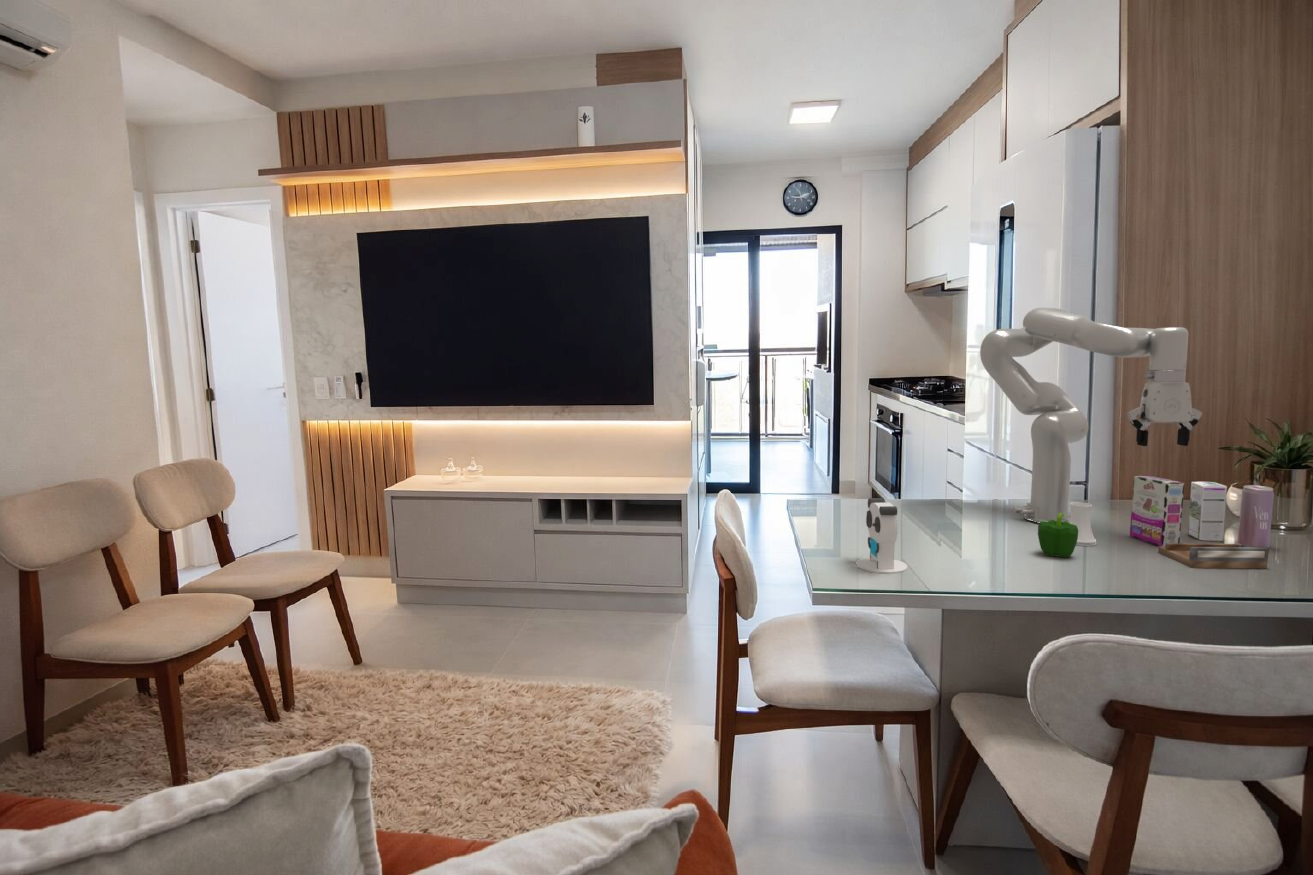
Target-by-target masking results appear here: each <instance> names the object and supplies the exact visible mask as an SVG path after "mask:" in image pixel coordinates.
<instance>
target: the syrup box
mask: <svg viewBox="0 0 1313 875" xmlns="http://www.w3.org/2000/svg"><path fill="white" fill-rule="evenodd" d="M1227 490H1228V486H1227V485H1225V484H1221V483H1217V482H1215V481H1191V485H1190V498H1189V512H1188V513H1189V514H1188V525H1187V526H1188V529H1187V535H1188V536H1191V537H1192V538H1195V539H1196V540H1199V541H1209V542H1210V541H1211V542H1223V541H1224V531H1225V520H1226V519H1225V518H1226V504H1227V503H1226V502H1227Z"/></svg>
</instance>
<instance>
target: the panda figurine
mask: <svg viewBox="0 0 1313 875" xmlns="http://www.w3.org/2000/svg"><path fill="white" fill-rule="evenodd" d="M867 507H868V508H867V509H868V510H867V511H866V517H865V518H866V520H865V523H866V527H867V529H868V534H869V537H867V545H868V548H869V557H864V558H860V559H858V560H857V561H856V562H855V563H856V564H855V565H856V566H857V567H858V569H861V570H862V571H866V572H869V573H870V572H871V573H876V574H884V575H885V574H886V575H887V574H888V575H890V574H900V573H901V574H902V573H904V572H906V571H907V570H908V567H909V566H908V565H907V563H905V562H903V561H901V560H898V559H895V544H896V541H897V537H898V507H897V506H895V505H893V504H892V503H891V502H886V499H885V498H884V497H883V498H882V497H877V498H876V497H871V498H870V497H869V498H868V499H867Z"/></svg>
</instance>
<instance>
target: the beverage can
mask: <svg viewBox="0 0 1313 875" xmlns="http://www.w3.org/2000/svg"><path fill="white" fill-rule="evenodd" d="M1274 497H1275V493H1274V488H1273V487H1270V486H1264V485H1263V486H1262V485H1252V484H1248V485H1247V484H1246V485H1243V488H1242V490H1241V498H1240V501H1241V502H1240V509H1239V521H1238V522H1239V523H1238V531H1237V532H1238V534H1237V544H1239V545H1240V547H1262V548H1268V549H1269V548H1270V541H1271V540H1270V539H1271V529H1272V526H1271V525H1272V518H1273V508H1274V507H1273V506H1274Z"/></svg>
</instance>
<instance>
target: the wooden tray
mask: <svg viewBox="0 0 1313 875" xmlns="http://www.w3.org/2000/svg"><path fill="white" fill-rule="evenodd" d="M1157 549H1158V551H1157V553H1159V554H1161V555H1163V556H1165V557H1167V558H1170V559H1172V560H1174V561H1176V562H1178V563H1181V564H1183V565H1186V566H1187V567H1190V568H1195V569H1196V568H1199V569H1200V568H1201V569H1202V568H1206V569H1208V568H1209V569H1210V568H1211V569H1212V568H1216V569H1224V568H1225V569H1236V568H1237V569H1267V568H1268V563H1269V562H1268V561H1269V552H1270V551H1269V550H1270V548H1269V547H1268V548H1262V547H1242V546H1240V545H1239V544H1238V543H1202V542H1201V543H1197V542H1196V543H1195V542H1194V543H1193V542H1192V543H1191V542H1190V543H1189V542H1188V543H1187V542H1186V543H1184V542H1182V543H1181V542H1180V543H1166V545H1165V546H1158V548H1157Z"/></svg>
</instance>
